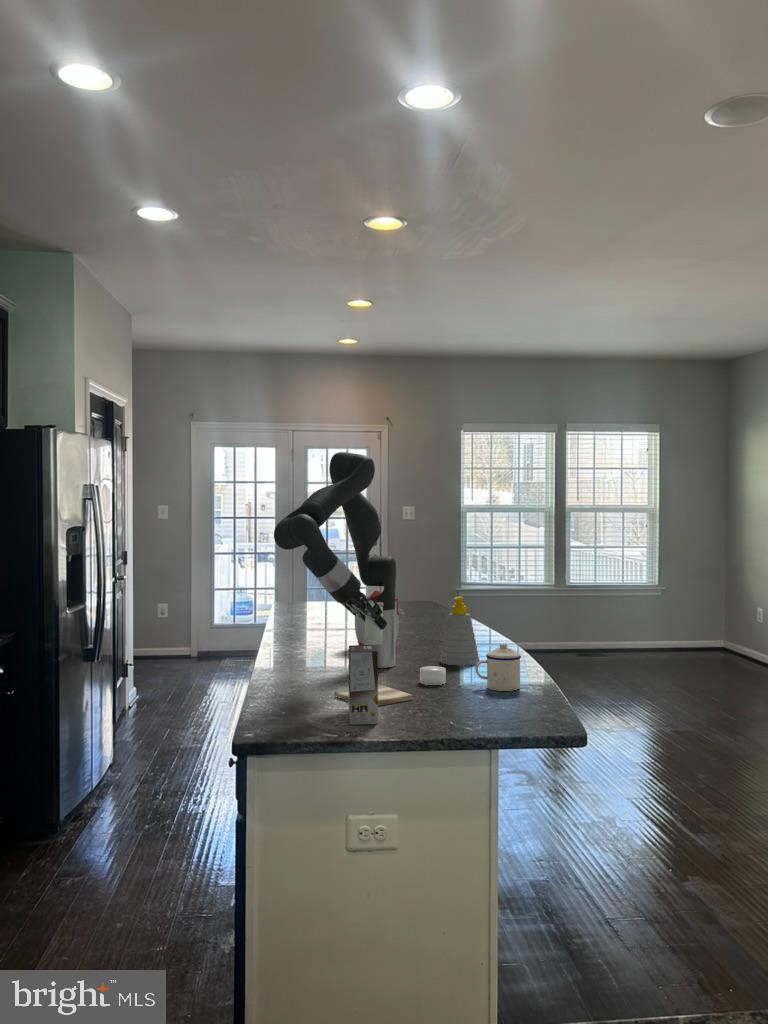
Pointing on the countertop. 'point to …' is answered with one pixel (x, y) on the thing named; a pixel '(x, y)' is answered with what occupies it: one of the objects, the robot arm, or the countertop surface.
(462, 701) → the countertop surface
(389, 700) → the board
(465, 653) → the soap bottle
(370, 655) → the coffee box
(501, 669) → the teacup with lid
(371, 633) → the jar
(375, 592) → the citrus juicer
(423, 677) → the white domed cylinder
